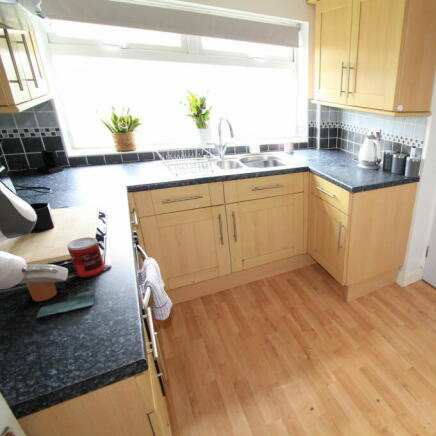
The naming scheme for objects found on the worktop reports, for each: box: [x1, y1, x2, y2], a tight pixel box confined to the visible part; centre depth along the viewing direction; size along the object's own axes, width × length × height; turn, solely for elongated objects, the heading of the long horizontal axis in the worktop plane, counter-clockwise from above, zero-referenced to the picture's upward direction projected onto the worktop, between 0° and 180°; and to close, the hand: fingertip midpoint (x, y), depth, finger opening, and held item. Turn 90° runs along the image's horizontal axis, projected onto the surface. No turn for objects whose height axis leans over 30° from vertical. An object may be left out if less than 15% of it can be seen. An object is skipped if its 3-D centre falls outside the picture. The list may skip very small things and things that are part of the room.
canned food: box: [66, 236, 106, 278], centre depth 104 cm, size 8×8×11 cm
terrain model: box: [35, 289, 97, 319], centre depth 89 cm, size 13×8×2 cm, turn 122°
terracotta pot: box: [25, 282, 58, 302], centre depth 93 cm, size 6×6×9 cm
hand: (40, 280), depth 93 cm, fingers closed on terracotta pot, 5 cm apart
